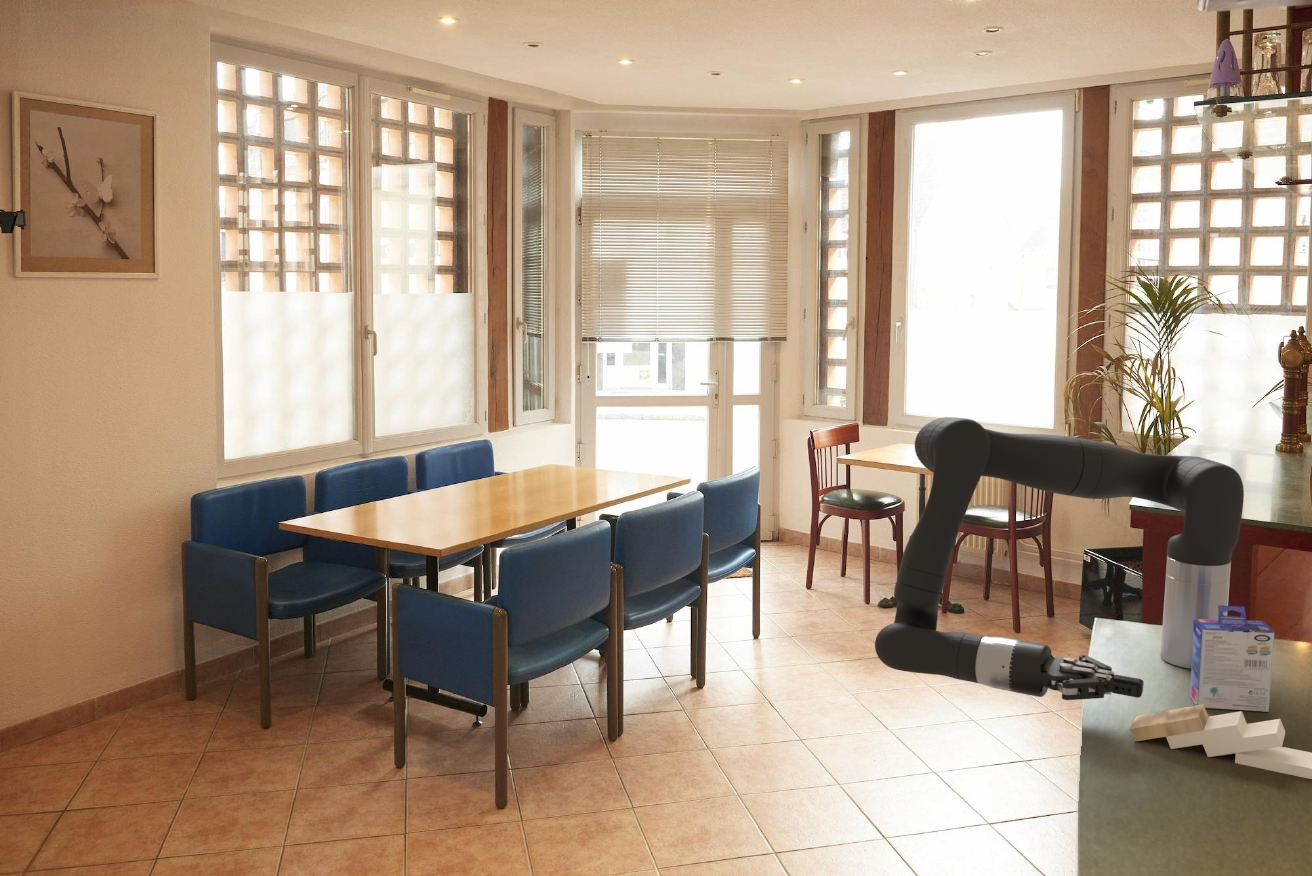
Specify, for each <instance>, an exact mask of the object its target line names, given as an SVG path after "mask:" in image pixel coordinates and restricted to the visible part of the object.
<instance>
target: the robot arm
mask: <svg viewBox="0 0 1312 876" xmlns="http://www.w3.org/2000/svg"><path fill="white" fill-rule="evenodd" d="M914 451H915V454H916V457H917V459H918V460H919V462H920V463H921V464H922V465H923V466H924V467H925V469H927V470H928V471H930V473H933V474H932V475H933V476H932V483H931V488H930V491H929V492H930V493H929V496H928V499H927V502H926V504H925V507H924V510H923V512H922V514H921V516H920V518H919V520H918V522H917V524H916V526H915V527H914V528H913V531H912V533H911V535H910V537H909V539H908V541H907V543H906V545H905V549H904V551H903V555H902V556H901V560H900V565H899V570H898V573H897V578H896V580H895V585H894V593H893V595H894V599H895V601H896V603H897V605H896V612H895V617H894V622H893V623H889V624H887V625H886V626H884V627H883V628H882V629H880V630H879V632H878V633H877V635H876V637H875V639H874V640H875V641H874V650H875V653H876V656H877V657H878V659H879V660H880V661H881V663H883V664H884V665H885V666H887V667H888V668H890V669H893V670H897V671H902V672H907V673H913V674H915V673H917V674H923V675H924V674H926V675H936V676H943V677H946V678H947V677H949V678H951V679H955V680H959V681H965V682H969V683H975V684H980V685H983V686H986V687H990V688H993V689H996V690H1001V691H1007V692H1012V693H1018V694H1022V695H1027V696H1032V697H1037V698H1042V697H1044V696H1045V695H1046V694H1047V692H1048V690H1051V691H1056V692H1057V691H1058V692H1060V693H1061V699H1062V700H1064V701H1077V700H1093V699H1094V700H1095V699H1104V698H1105V695H1106V696H1107V695H1112V694H1116V695H1122V696H1127V697H1133V698H1137V699H1138V698H1141V697H1142V695H1143V692H1144V680H1143V679H1141V678H1138V677H1133V676H1132V677H1131V676H1126V675H1120V674H1115V671H1113V670H1112V669H1113V668H1112V666H1109V665H1107V664H1105V663H1103V662H1101V661H1099V660H1097V659H1095V658H1093V657H1091V656H1088V655H1087V654H1079V655H1078V660H1077V659H1076V658H1073V657H1054V656H1053V655H1052V650H1051V649H1052V648H1051V647H1050V646H1049V645H1048V644H1045V643H1039V642H1034V641H1033V642H1032V641H1027V640H1022V639H1021V640H1020V639H1015V638H1011V637H1010V638H1008V637H1004V636H987V635H982V634H981V635H980V634H975V633H967V632H963V631H962V632H961V631H940V630H937V629H938V628H937V627H938V617H939V615H938V613H939V604H940V600H941V597H942V593H943V589H944V586H945V585H944V584H945V581H946V578H947V575H948V574H947V573H948V569H949V566H950V561H951V558H952V555H953V551H954V549H955V545H956V541H957V538H958V535H959V532H960V529H961V526H962V523H963V521H964V518H965V516H966V513H967V511H968V507H969V505H970V503H971V500H972V497H973V495H974V493H975V490H976V488H977V486H978V484H979V482H980V479H981V477H987V478H988V477H989V478H994V479H1000V480H1004V481H1008V482H1011V483H1014V484H1019V485H1022V486H1024V487H1028V488H1033V489H1036V490H1040V491H1044V492H1048V493H1052V494H1057V495H1062V496H1068V497H1075V498H1082V499H1090V500H1091V499H1092V500H1106V499H1115V498H1135V499H1140V500H1145V501H1150V502H1154V503H1158V504H1160V505H1161V504H1162V505H1165V506H1167V507H1171V508H1173V509H1176V510H1177V511H1180V512H1183V513H1185V514H1184V515H1185V516H1184V522H1183V530H1182V532H1181V534H1176V535H1174V536H1171V537H1170V538H1169V539H1168V541H1167V549H1166V550H1167V551H1166V567H1165V581H1164V582H1165V583H1164V597H1163V599H1164V601H1163V612H1162V613H1163V615H1162V629H1161V630H1162V631H1161V644H1160V645H1161V646H1160V657H1161V660H1164V661H1165V662H1166V663H1169V664H1171V665H1174V666H1177V667H1180V668H1186V669H1191V668H1192V647H1193V620H1194V619H1210V620H1218V605H1222V606H1229V595H1230V594H1229V593H1230V581H1231V579H1230V578H1231V565H1232V555H1233V552H1234V550H1235V548H1236V547H1237V544H1238V541H1239V537H1240V531H1241V523H1242V518H1243V517H1242V516H1243V508H1244V500H1245V498H1244V497H1245V494H1244V493H1245V492H1244V491H1245V490H1244V489H1245V488H1244V484H1243V479H1242V477H1241V476H1240V474H1239V473H1238V471H1237V470H1236V469H1235V468H1233V467H1231V466H1229V465H1226V464H1224V463H1221V462H1218V461H1215V460H1211V459H1208V458H1204V457H1200V456H1194V455H1191V456H1189V455H1171V454H1170V455H1166V454H1165V455H1164V454H1150V453H1143V452H1138V451H1134V450H1131V449H1128V448H1125V447H1122V446H1118V445H1114V444H1111V443H1107V442H1102V441H1099V440H1093V439H1086V438H1079V437H1075V436H1069V435H1068V436H1067V435H1057V434H1047V433H1046V434H1043V433H1015V432H1014V433H1013V432H1001V431H996V430H992V429H988V428H985V427H983V425H981V424H980V423H979V422H977V421H976V420H973V419H970V418H965V417H953V416H952V417H950V416H946V417H944V416H943V417H939V418H937V419H933V420H931V421H930V422H928V423H926V424H925V425H924V426H922V427H921V428H920V430H918V432H917V435H916V437H915V441H914ZM1223 615H1224V616H1228V611H1226V612H1223Z"/></svg>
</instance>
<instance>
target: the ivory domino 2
mask: <svg viewBox="0 0 1312 876" xmlns="http://www.w3.org/2000/svg"><path fill="white" fill-rule="evenodd" d="M1285 735H1286V730H1285V727H1284V725H1283V722H1282V720H1281V718H1277V719H1270V720H1264V721H1256V722H1250V723H1247V725H1246V728H1245V731H1244V735H1243V738H1240V739H1234V740H1227V741H1221V742H1214V743H1208V744H1202V746H1203V748H1204V750H1205V753H1206V756H1207V758H1212V757H1213V758H1214V757H1219V756H1227V755H1232V754H1236V753H1240V752H1247V751H1254V750H1261V749H1268V748H1275V747H1283V744H1284V739H1285Z"/></svg>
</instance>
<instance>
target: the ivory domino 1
mask: <svg viewBox="0 0 1312 876" xmlns="http://www.w3.org/2000/svg"><path fill="white" fill-rule="evenodd" d="M1247 724H1248V722H1247V720H1246V718H1245V716H1244V713H1243V710H1239V711H1235V712H1234V711H1233V712H1229V713H1222V714H1218V715H1217V714H1216V715H1211V716H1209V715H1208V720H1207V722H1206V725H1205V728H1204V730H1203V731H1197V732H1191V733H1185V734H1179V735H1172V736H1166V737H1165V738H1166V740H1167V742H1168V745H1169V748H1170V749H1171V750H1174V749H1179V748H1187V747H1192V746H1200V745H1203V744H1208V743H1214V742H1221V741H1227V740H1234V739H1240V738H1243V735H1244V731H1245V728H1246V725H1247Z"/></svg>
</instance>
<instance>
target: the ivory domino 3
mask: <svg viewBox="0 0 1312 876" xmlns="http://www.w3.org/2000/svg"><path fill="white" fill-rule="evenodd" d="M1234 755H1235V757H1234V758H1235V759H1234V763H1235V764H1237V763H1238V764H1239V765H1243V766H1247V767H1251V768H1252V767H1253V768H1257V769H1262V770H1266V771H1272V772H1276V773H1280V774H1285V775H1290V776H1294V777H1300V778H1303V779H1309V780H1312V752H1311V751H1310V752H1309V751H1305V750H1300V749H1295V748H1290V747H1285V746H1282V747H1275V748H1268V749H1261V750H1254V751H1247V752H1240V753H1235V754H1234Z"/></svg>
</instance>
